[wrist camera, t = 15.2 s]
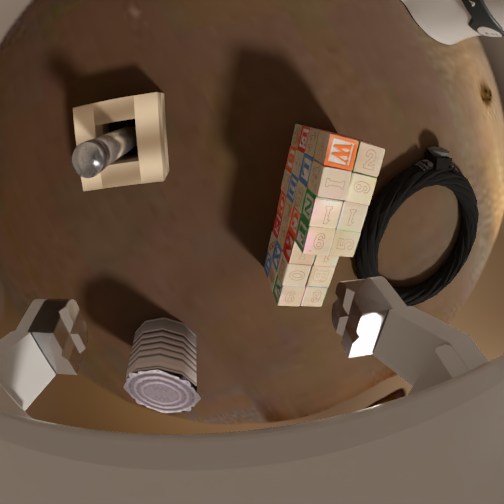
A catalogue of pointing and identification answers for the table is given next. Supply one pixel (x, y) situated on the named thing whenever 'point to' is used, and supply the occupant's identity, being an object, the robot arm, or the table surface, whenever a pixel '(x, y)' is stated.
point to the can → (163, 366)
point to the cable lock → (389, 200)
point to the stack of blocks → (319, 212)
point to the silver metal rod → (102, 151)
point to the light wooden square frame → (147, 132)
